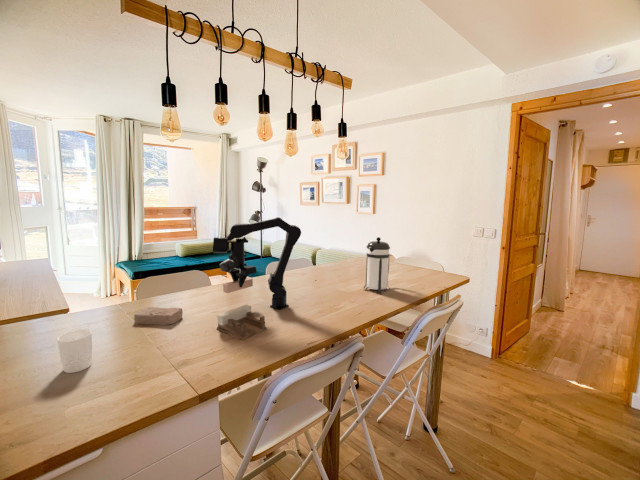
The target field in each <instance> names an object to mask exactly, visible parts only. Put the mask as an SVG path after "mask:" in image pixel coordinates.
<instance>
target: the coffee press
mask: <svg viewBox="0 0 640 480" xmlns="http://www.w3.org/2000/svg"><path fill="white" fill-rule="evenodd" d="M390 250H391V246H390V244H389V243H388V242H385V241H381V237H376V241H370V242H368V244H367V245H366V251H367V252H366V259H365V260H366V263H365V264H366V265H365V284H364V287H363V288H364V289H366V290H367V289H371V290H377V292H379V293H378V294H382V291H383V290H387V289H389V290H390V289H391V288H390V287H389V272H390Z"/></svg>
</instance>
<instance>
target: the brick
mask: <svg viewBox="0 0 640 480" xmlns="http://www.w3.org/2000/svg"><path fill="white" fill-rule="evenodd" d="M183 313H184V312H183V308H180V307H168V308H167V307H150V306H149V307H148V306H147V307H144V308H142V309H141V310H139V311H137V312H136V313H134V315H133V316H134V318H133V319H134V324H138V323H146V325H165V326H167V325H172V324H175V323H177V322H178V321H180V319H182V318H183Z"/></svg>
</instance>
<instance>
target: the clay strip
mask: <svg viewBox="0 0 640 480" xmlns="http://www.w3.org/2000/svg"><path fill="white" fill-rule="evenodd" d="M253 285H254V281H253V278H251V277H247V278H246V280H245V282H244V284H243V286H242V287H240V286H239V280H238V281H234V282H233V281H230V282H225V283H223V284H222V289H223V290H222V292H223V293H226V294H230V293H233V292H238V291H241V290H243V289H244V290H245V289H247V288H251V287H253Z"/></svg>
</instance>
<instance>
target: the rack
mask: <svg viewBox="0 0 640 480" xmlns="http://www.w3.org/2000/svg"><path fill="white" fill-rule="evenodd" d="M216 330H217V331H221V333H224V334H227V335H230V336H232V337H234V338H236V339H239V340H240V341H244V340H245V339H248V338H251V337H252V336H255V335H256V334H258V333H261V332H263V331H265V330H267V326H266V321H265V316H264V315H262V316H259V318H256V317H255V312H253V311H251V312H247V316H246V317H244V318H241V319H238V320H234V319H232V318H231V319H229V320H228V324H226V325H223V326H222V325H220V324H218V323H217V327H216Z"/></svg>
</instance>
